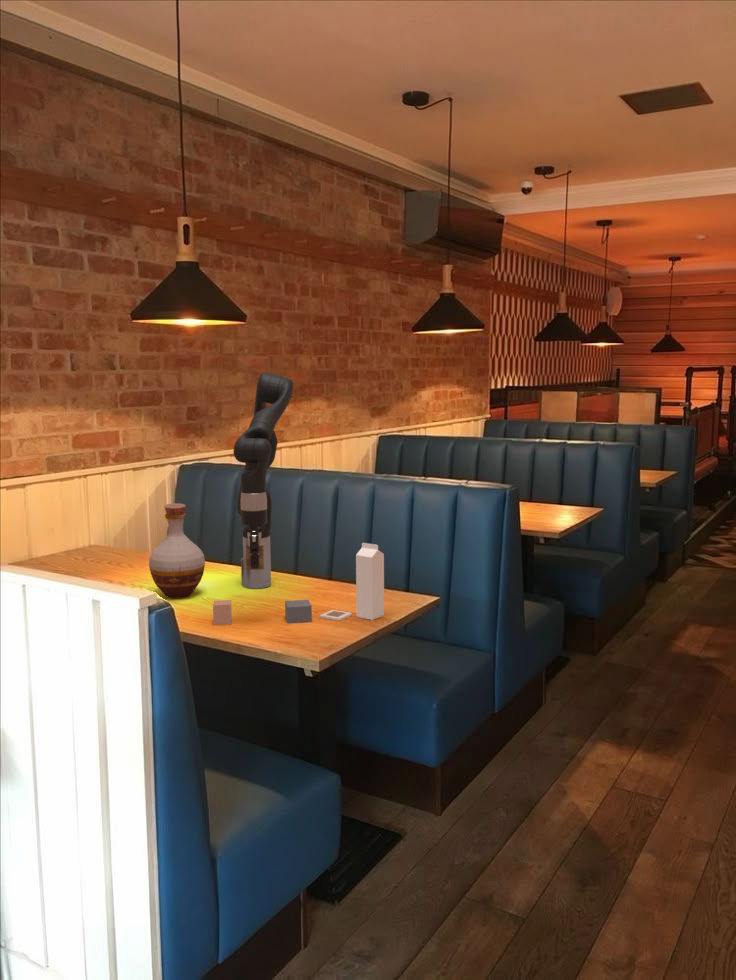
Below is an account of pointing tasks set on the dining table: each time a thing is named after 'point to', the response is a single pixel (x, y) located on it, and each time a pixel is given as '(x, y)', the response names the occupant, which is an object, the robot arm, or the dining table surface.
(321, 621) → the dining table surface
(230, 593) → the dining table surface
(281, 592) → the dining table surface
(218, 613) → the terracotta block
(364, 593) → the milk
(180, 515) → the jug
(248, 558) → the walnut block
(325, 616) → the tile
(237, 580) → the dining table surface
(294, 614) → the charcoal block
